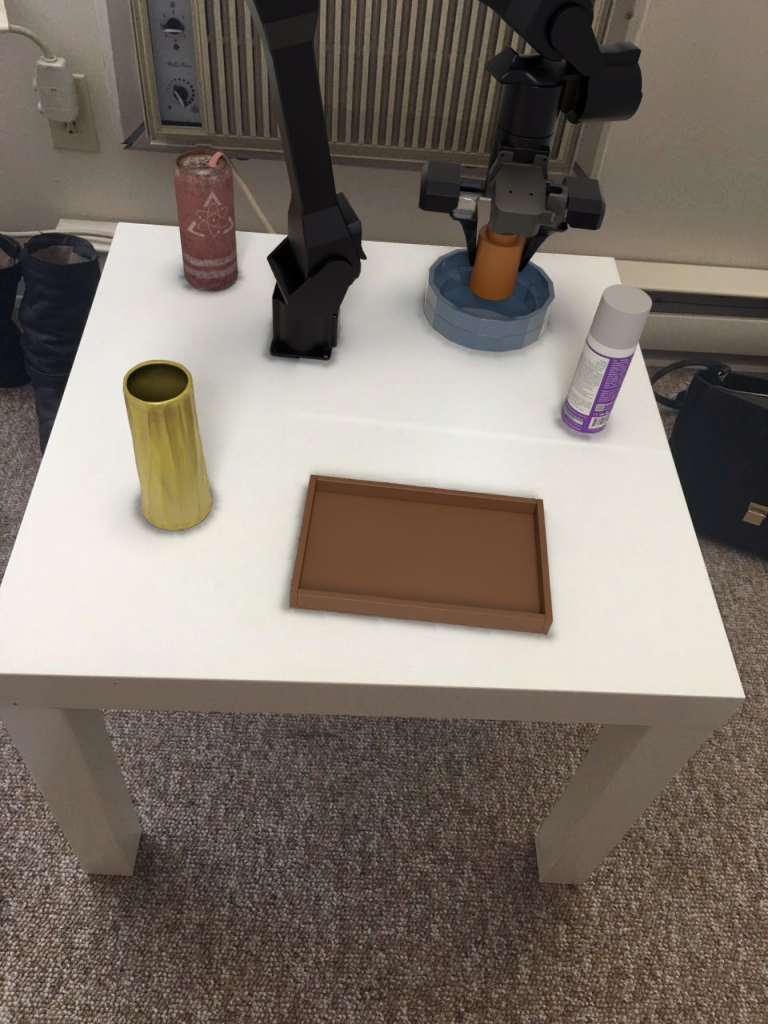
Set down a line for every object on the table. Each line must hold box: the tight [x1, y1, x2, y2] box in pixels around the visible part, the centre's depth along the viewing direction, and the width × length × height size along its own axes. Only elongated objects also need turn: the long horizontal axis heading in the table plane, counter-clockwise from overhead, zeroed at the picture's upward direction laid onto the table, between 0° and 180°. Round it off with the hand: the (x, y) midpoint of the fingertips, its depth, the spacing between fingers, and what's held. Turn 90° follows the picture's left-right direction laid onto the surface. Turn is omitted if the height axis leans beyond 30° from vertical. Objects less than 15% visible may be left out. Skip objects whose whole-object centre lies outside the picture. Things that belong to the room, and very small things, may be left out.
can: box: [172, 149, 239, 292], centre depth 91 cm, size 6×6×14 cm
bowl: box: [423, 247, 556, 353], centre depth 94 cm, size 14×14×4 cm
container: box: [560, 283, 653, 436], centre depth 79 cm, size 5×5×15 cm
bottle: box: [469, 221, 526, 301], centre depth 89 cm, size 5×5×10 cm
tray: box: [289, 474, 554, 635], centre depth 71 cm, size 21×13×2 cm, turn 86°
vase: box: [122, 359, 213, 531], centre depth 68 cm, size 6×6×14 cm
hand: (495, 267), depth 91 cm, fingers closed on bottle, 5 cm apart
